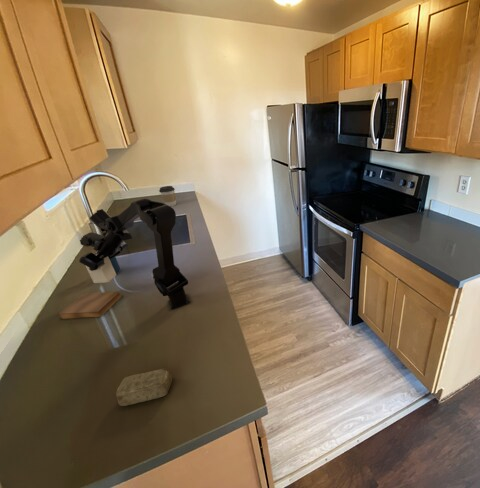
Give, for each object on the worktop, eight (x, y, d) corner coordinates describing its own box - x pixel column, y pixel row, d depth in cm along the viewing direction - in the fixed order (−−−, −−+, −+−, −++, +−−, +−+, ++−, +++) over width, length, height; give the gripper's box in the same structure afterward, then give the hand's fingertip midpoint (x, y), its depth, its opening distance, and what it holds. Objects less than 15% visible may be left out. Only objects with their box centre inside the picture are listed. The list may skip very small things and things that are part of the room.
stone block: (169, 396, 70) (163, 383, 68) (118, 410, 68) (111, 396, 65) (174, 377, 75) (168, 365, 73) (127, 389, 73) (120, 376, 70)
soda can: (116, 268, 134) (107, 245, 128) (124, 271, 130) (114, 248, 125) (100, 274, 128) (90, 252, 123) (108, 278, 125) (97, 255, 120)
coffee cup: (181, 204, 229) (176, 186, 222) (166, 208, 221) (161, 189, 215) (175, 202, 236) (170, 184, 229) (161, 205, 229) (156, 187, 222)
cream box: (116, 275, 115) (107, 253, 111) (107, 282, 110) (97, 260, 106) (103, 275, 115) (93, 254, 111) (93, 283, 110) (83, 261, 106)
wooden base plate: (122, 296, 112) (120, 291, 111) (101, 316, 100) (98, 311, 99) (86, 298, 111) (83, 293, 110) (61, 319, 100) (57, 313, 99)
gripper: (109, 218, 111) (92, 244, 116) (72, 236, 94) (55, 266, 99) (135, 234, 115) (118, 259, 119) (104, 255, 98) (86, 283, 103)
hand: (96, 266), depth 110 cm, fingers closed on cream box, 5 cm apart
